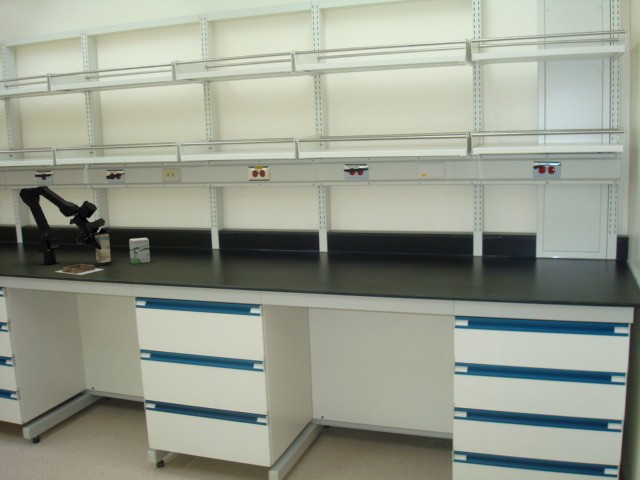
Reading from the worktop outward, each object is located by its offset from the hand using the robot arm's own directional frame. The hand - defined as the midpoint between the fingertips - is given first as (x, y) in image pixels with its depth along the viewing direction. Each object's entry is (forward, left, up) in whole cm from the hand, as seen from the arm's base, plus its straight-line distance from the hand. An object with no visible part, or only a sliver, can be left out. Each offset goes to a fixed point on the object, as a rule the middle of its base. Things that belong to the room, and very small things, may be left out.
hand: (105, 248), depth 281 cm
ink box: (+9, +13, -9) cm, 18 cm away
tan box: (-1, 0, -7) cm, 7 cm away
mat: (-2, -14, -9) cm, 17 cm away
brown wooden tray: (-2, -15, -8) cm, 17 cm away
